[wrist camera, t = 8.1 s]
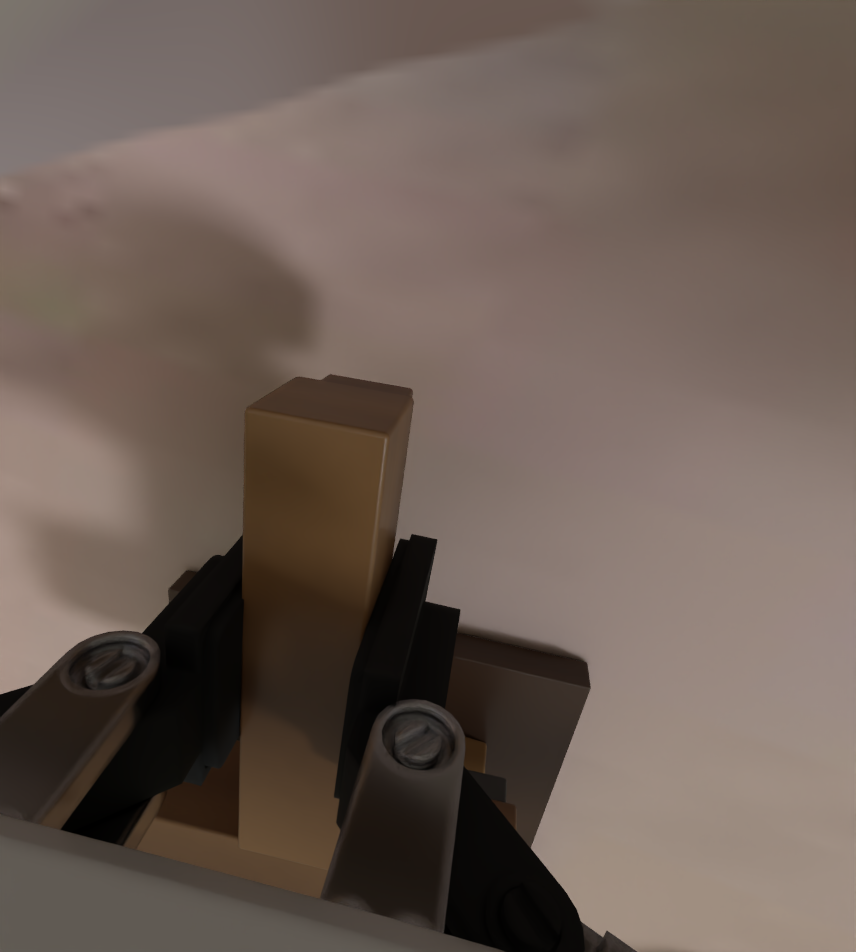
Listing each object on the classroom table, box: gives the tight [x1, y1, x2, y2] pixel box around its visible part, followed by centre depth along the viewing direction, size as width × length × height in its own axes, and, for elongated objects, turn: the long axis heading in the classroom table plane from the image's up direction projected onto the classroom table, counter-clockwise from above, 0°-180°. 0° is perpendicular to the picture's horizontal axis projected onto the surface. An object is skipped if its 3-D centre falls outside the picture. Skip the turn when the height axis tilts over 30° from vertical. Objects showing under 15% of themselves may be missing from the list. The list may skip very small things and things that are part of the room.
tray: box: [168, 571, 591, 848], centre depth 20 cm, size 16×12×1 cm
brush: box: [136, 374, 517, 899], centre depth 11 cm, size 12×9×3 cm
